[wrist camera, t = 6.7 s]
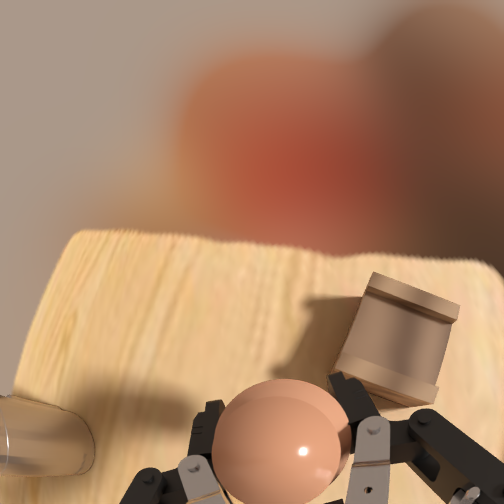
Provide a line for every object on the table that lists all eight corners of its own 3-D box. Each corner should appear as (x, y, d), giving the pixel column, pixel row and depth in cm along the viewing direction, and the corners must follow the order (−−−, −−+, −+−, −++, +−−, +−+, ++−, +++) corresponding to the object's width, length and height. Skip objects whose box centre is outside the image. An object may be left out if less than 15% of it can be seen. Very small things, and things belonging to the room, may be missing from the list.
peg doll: (234, 445, 16) (150, 477, 6) (271, 380, 18) (236, 334, 8) (305, 478, 14) (313, 557, 4) (342, 411, 17) (404, 404, 6)
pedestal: (328, 376, 28) (334, 367, 23) (362, 296, 32) (373, 271, 27) (410, 407, 25) (433, 403, 19) (436, 325, 29) (460, 305, 23)
